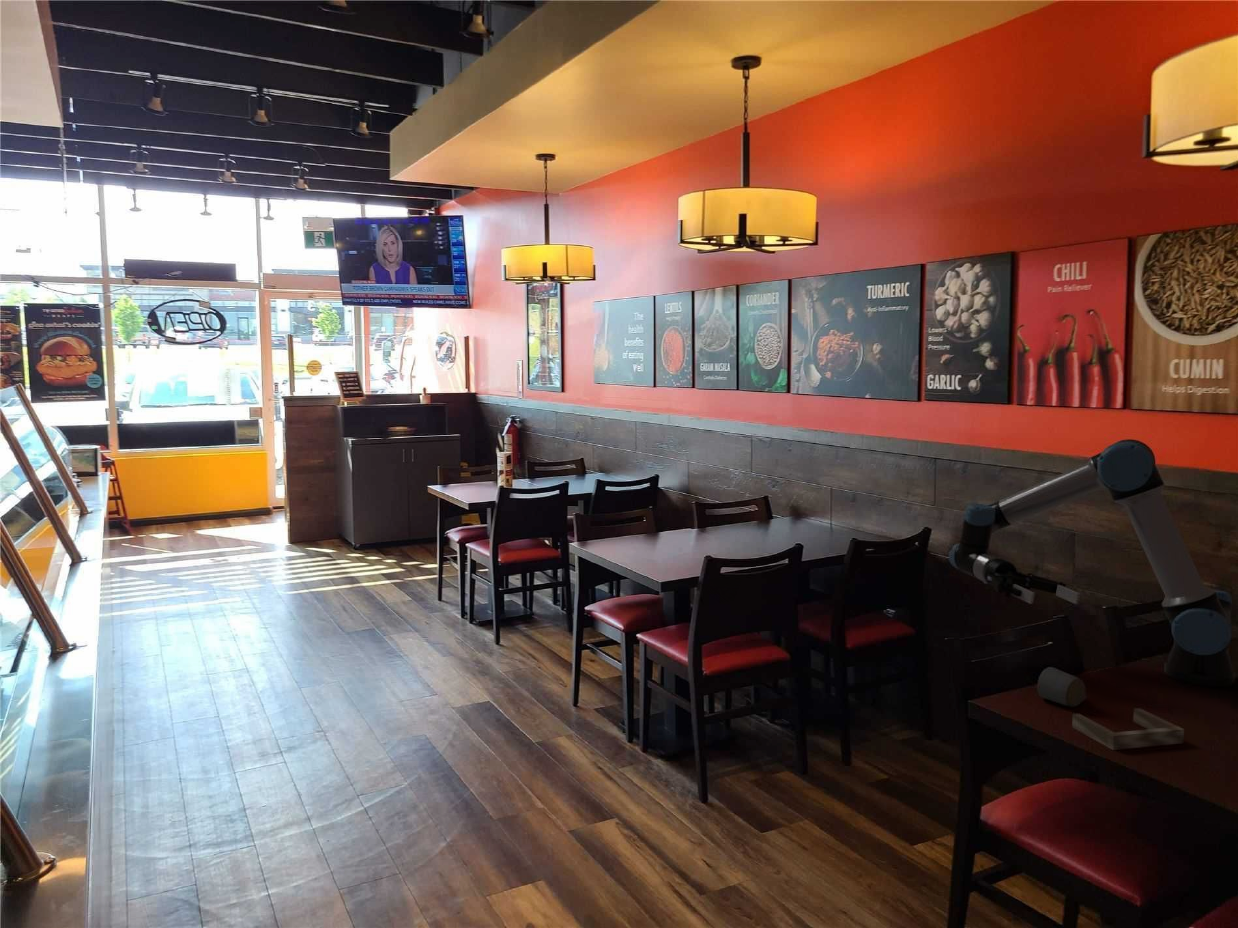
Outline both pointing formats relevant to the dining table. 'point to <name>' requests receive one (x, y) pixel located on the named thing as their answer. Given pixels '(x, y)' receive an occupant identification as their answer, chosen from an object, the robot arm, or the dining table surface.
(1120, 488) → the robot arm
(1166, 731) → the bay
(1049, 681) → the ceramic mug
